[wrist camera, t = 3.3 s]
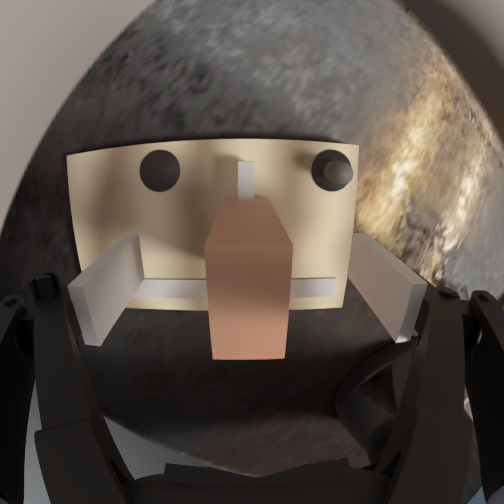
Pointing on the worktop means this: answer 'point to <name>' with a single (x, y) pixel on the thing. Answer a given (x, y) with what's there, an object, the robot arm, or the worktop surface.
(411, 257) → the worktop surface
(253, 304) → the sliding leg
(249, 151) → the board
